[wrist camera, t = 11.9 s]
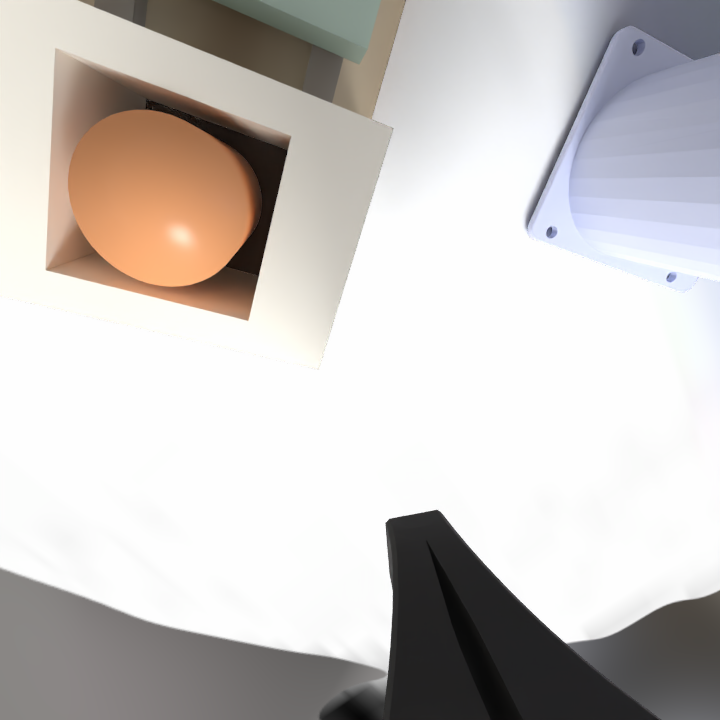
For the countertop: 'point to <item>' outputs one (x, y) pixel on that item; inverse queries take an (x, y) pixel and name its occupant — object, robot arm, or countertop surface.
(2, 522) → the countertop surface
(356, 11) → the carriage
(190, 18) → the rail track
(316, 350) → the end cabinet
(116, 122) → the button
